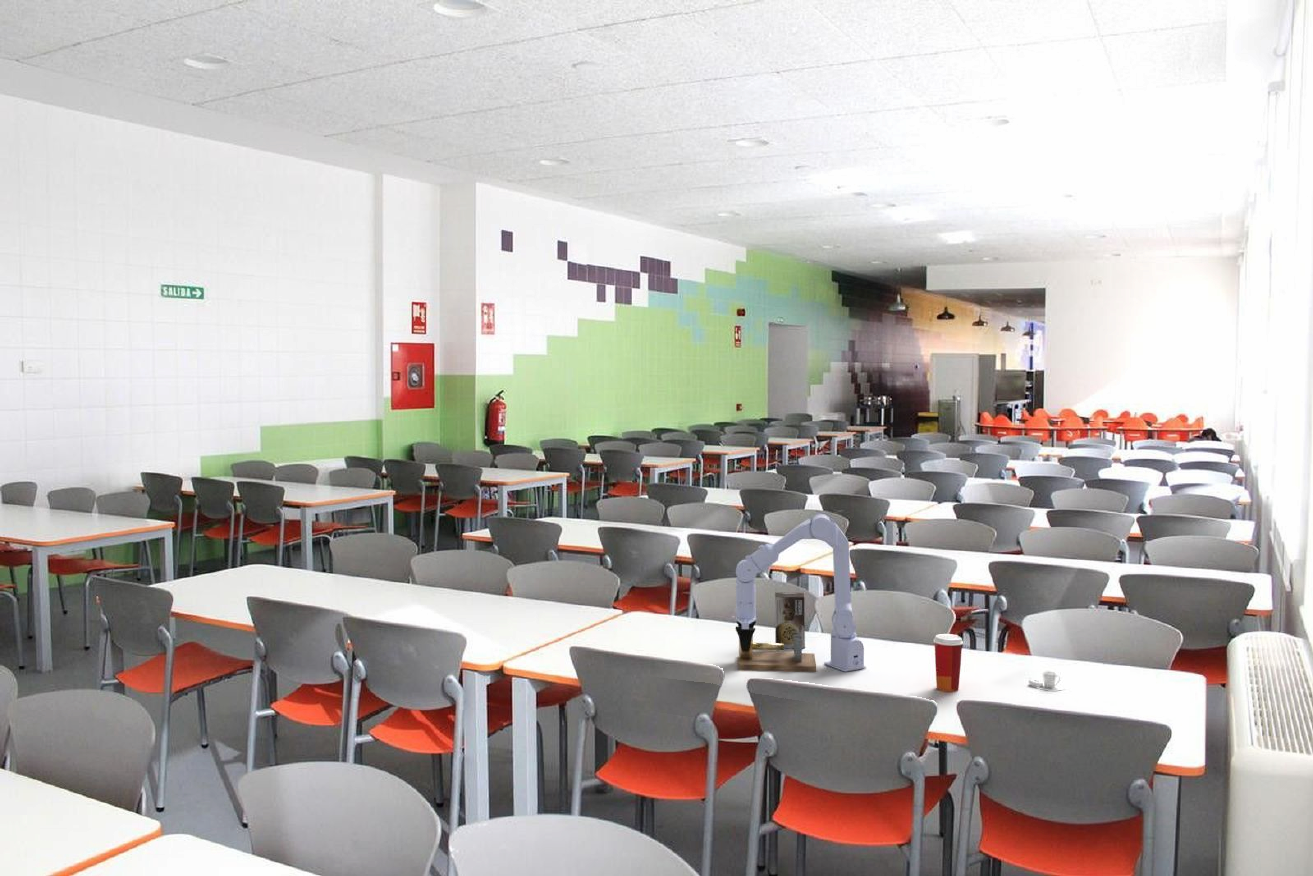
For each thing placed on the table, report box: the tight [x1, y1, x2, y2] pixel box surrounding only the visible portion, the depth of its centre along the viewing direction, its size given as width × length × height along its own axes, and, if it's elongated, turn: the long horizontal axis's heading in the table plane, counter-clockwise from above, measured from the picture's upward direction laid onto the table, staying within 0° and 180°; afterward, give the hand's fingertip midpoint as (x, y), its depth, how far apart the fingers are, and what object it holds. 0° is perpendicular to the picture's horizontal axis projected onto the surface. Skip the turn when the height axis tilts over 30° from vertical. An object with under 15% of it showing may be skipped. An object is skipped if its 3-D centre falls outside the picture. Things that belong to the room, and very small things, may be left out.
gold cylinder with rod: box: [738, 635, 785, 659], centre depth 300 cm, size 13×4×8 cm, turn 84°
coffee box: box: [774, 592, 806, 649], centre depth 320 cm, size 9×6×16 cm
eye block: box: [737, 632, 817, 673], centre depth 300 cm, size 22×14×8 cm, turn 84°
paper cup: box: [932, 633, 964, 693], centre depth 275 cm, size 8×8×14 cm
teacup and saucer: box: [1028, 670, 1066, 692], centre depth 277 cm, size 9×8×4 cm
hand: (745, 648), depth 301 cm, fingers open, 7 cm apart
